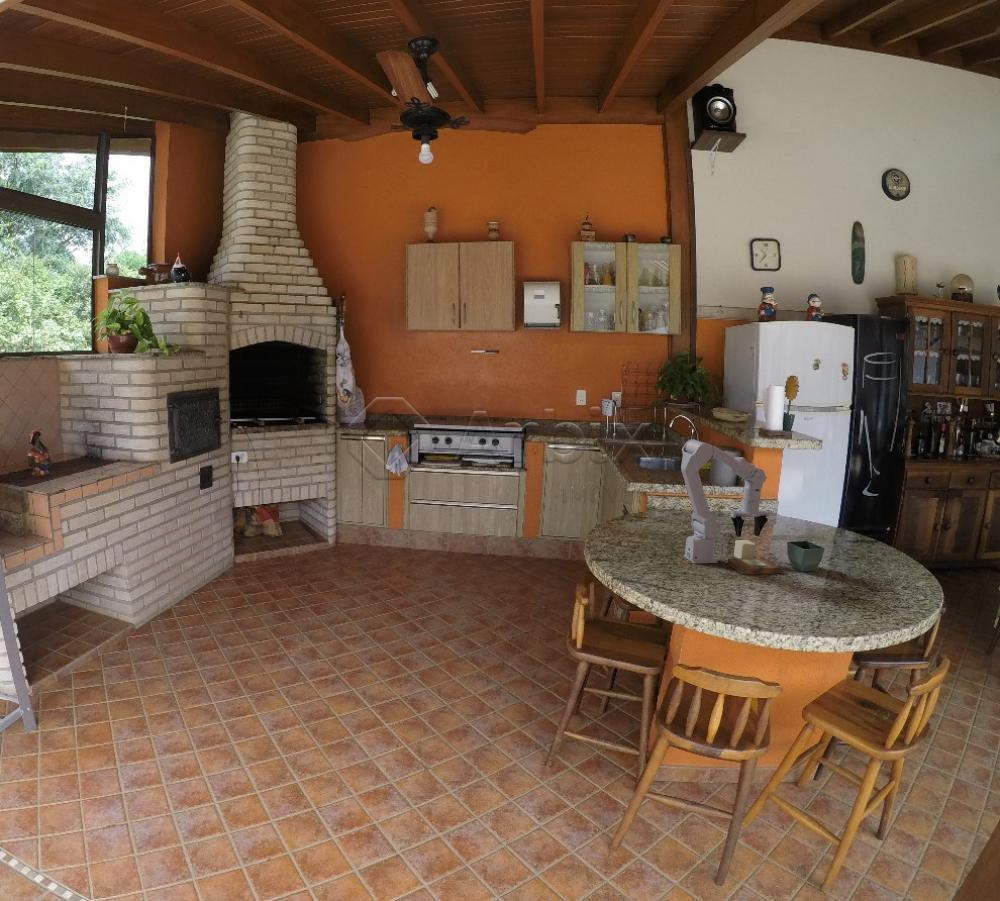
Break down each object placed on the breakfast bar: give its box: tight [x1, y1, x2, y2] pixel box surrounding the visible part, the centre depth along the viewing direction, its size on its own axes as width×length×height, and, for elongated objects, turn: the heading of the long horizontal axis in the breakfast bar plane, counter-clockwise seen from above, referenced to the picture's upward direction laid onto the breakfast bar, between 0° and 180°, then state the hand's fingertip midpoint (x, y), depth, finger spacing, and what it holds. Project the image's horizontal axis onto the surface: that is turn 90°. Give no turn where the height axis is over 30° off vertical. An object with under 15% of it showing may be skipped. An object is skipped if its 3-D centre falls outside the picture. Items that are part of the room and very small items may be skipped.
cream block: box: [733, 539, 756, 558], centre depth 232 cm, size 5×5×6 cm
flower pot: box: [786, 540, 826, 573], centre depth 222 cm, size 9×9×9 cm
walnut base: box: [726, 557, 781, 575], centre depth 221 cm, size 14×10×2 cm
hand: (747, 535), depth 231 cm, fingers open, 7 cm apart
